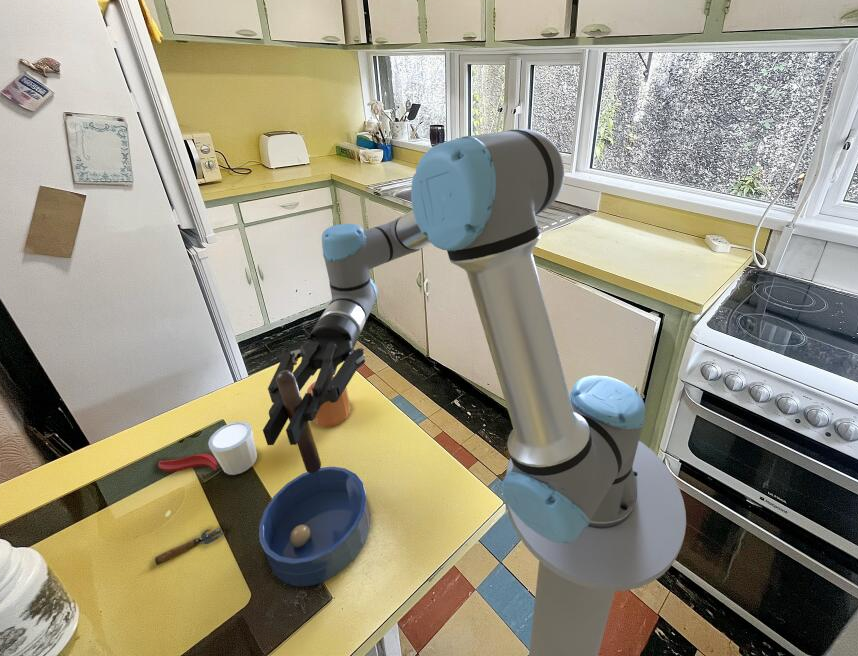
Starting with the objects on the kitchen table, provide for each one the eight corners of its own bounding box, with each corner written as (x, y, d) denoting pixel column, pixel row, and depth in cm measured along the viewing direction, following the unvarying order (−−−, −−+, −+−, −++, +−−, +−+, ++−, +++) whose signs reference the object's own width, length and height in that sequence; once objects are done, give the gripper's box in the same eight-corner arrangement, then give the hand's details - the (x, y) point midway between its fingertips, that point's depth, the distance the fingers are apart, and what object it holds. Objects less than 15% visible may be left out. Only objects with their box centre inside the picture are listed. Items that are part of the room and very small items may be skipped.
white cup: (210, 472, 76) (198, 446, 72) (240, 443, 81) (230, 417, 78) (240, 482, 74) (229, 455, 71) (269, 451, 80) (260, 425, 77)
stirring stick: (325, 464, 64) (296, 367, 54) (318, 477, 62) (286, 379, 52) (311, 462, 64) (280, 365, 54) (304, 475, 62) (270, 377, 52)
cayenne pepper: (226, 460, 78) (223, 453, 77) (205, 481, 74) (202, 474, 73) (174, 447, 80) (171, 440, 79) (152, 467, 76) (148, 460, 75)
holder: (356, 402, 92) (351, 378, 88) (339, 429, 85) (334, 404, 82) (324, 398, 93) (318, 374, 89) (305, 424, 86) (299, 399, 83)
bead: (316, 533, 65) (312, 521, 64) (305, 553, 63) (301, 541, 61) (298, 530, 66) (295, 518, 64) (287, 550, 63) (283, 538, 62)
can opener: (156, 566, 62) (153, 562, 61) (159, 552, 64) (156, 547, 63) (226, 538, 66) (224, 533, 65) (226, 525, 67) (224, 520, 67)
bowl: (384, 496, 72) (380, 473, 69) (343, 595, 58) (336, 571, 56) (304, 483, 74) (297, 461, 71) (246, 577, 60) (235, 553, 58)
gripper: (383, 347, 75) (344, 457, 54) (299, 347, 75) (227, 458, 54) (378, 312, 72) (335, 415, 51) (290, 312, 71) (209, 416, 50)
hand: (279, 437), depth 52 cm, fingers closed on stirring stick, 2 cm apart
